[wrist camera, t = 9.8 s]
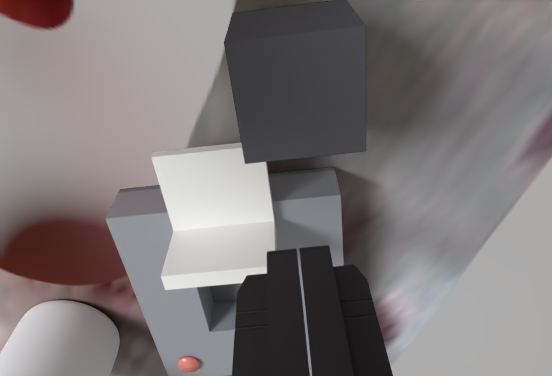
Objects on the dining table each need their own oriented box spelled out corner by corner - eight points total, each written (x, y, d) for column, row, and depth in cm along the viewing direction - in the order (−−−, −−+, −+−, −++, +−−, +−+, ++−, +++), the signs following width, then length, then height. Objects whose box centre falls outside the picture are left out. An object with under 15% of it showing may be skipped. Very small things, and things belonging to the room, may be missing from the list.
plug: (250, 94, 26) (244, 163, 19) (236, 0, 23) (223, 42, 17) (340, 84, 26) (365, 151, 19) (337, -13, 23) (365, 25, 16)
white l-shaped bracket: (178, 237, 28) (165, 290, 24) (153, 152, 24) (133, 197, 21) (276, 227, 27) (277, 279, 24) (263, 140, 24) (262, 184, 20)
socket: (176, 346, 38) (168, 383, 35) (120, 189, 30) (103, 221, 27) (341, 331, 38) (348, 368, 35) (334, 166, 29) (341, 197, 26)
